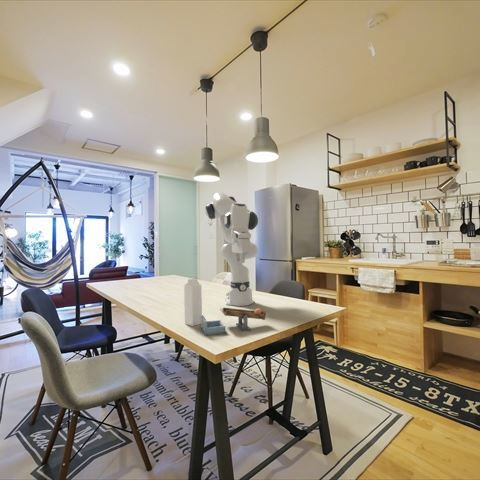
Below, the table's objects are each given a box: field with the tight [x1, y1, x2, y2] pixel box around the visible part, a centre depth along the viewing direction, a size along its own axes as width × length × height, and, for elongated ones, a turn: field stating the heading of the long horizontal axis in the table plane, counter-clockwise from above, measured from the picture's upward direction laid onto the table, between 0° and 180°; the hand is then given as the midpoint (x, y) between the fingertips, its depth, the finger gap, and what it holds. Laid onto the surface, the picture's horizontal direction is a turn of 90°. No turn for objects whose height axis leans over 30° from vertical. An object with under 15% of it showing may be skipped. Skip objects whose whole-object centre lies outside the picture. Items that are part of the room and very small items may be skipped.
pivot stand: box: [235, 315, 252, 332], centre depth 126 cm, size 4×10×7 cm, turn 17°
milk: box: [183, 277, 203, 327], centre depth 134 cm, size 6×6×22 cm
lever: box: [219, 307, 267, 321], centre depth 129 cm, size 19×12×4 cm, turn 107°
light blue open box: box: [200, 314, 226, 337], centre depth 122 cm, size 10×9×6 cm
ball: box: [253, 308, 262, 314], centre depth 129 cm, size 4×4×4 cm
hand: (240, 262), depth 139 cm, fingers open, 7 cm apart
